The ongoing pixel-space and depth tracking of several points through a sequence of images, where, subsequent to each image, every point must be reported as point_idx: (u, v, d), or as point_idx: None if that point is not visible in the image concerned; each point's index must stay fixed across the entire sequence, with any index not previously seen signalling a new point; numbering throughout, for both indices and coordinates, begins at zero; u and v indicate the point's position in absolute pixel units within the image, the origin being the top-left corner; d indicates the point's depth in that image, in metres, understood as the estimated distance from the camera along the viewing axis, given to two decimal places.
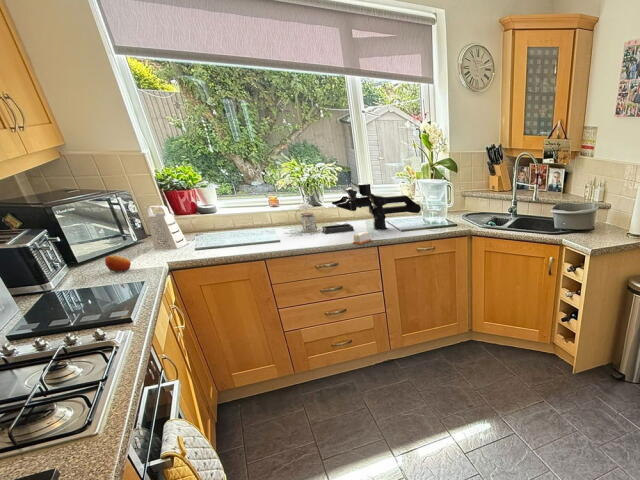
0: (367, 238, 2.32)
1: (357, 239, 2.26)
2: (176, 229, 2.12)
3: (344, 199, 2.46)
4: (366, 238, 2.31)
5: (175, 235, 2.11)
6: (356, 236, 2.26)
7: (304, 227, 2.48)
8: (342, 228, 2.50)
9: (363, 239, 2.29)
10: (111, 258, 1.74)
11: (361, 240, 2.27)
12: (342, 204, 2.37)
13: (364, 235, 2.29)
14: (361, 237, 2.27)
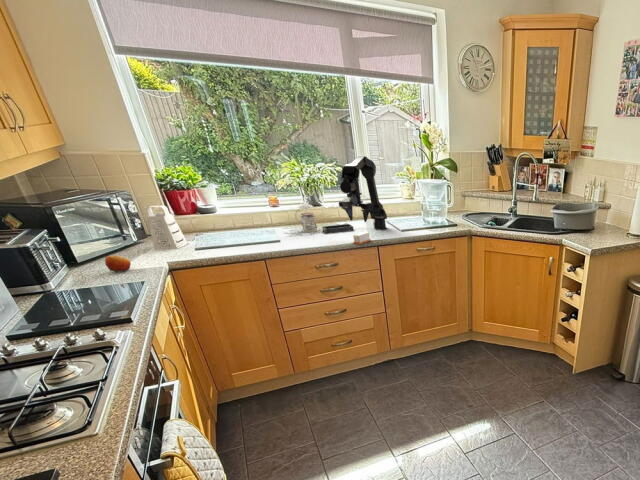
0: (367, 238, 2.32)
1: (357, 239, 2.26)
2: (176, 229, 2.12)
3: None
4: (366, 238, 2.31)
5: (175, 235, 2.11)
6: (356, 236, 2.26)
7: (304, 227, 2.48)
8: (342, 228, 2.50)
9: (363, 239, 2.29)
10: (111, 258, 1.74)
11: (361, 240, 2.27)
12: (365, 216, 2.22)
13: (364, 235, 2.29)
14: (361, 237, 2.27)
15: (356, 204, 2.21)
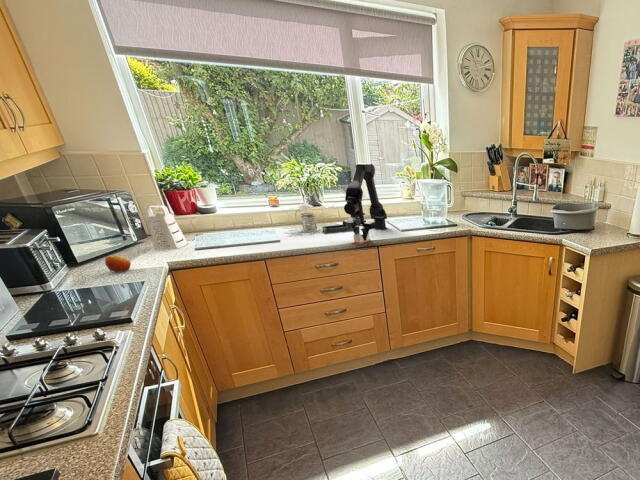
0: (367, 238, 2.32)
1: (357, 239, 2.26)
2: (176, 229, 2.12)
3: None
4: (366, 238, 2.31)
5: (175, 235, 2.11)
6: (356, 236, 2.26)
7: (304, 227, 2.48)
8: (342, 228, 2.50)
9: (363, 239, 2.29)
10: (111, 258, 1.74)
11: (361, 240, 2.27)
12: (365, 234, 2.28)
13: None
14: (361, 237, 2.27)
15: None
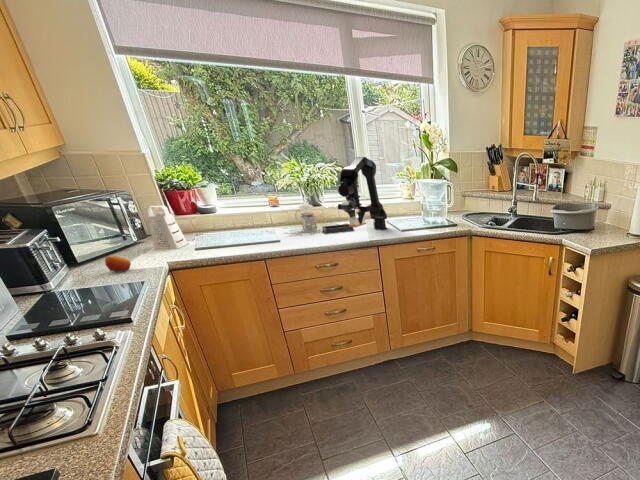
0: (363, 221, 2.30)
1: (353, 222, 2.24)
2: (176, 229, 2.12)
3: None
4: (362, 221, 2.29)
5: (175, 235, 2.11)
6: (352, 219, 2.23)
7: (304, 227, 2.48)
8: (342, 228, 2.50)
9: (359, 222, 2.27)
10: (111, 258, 1.74)
11: (357, 223, 2.25)
12: (360, 218, 2.25)
13: None
14: (357, 220, 2.25)
15: None
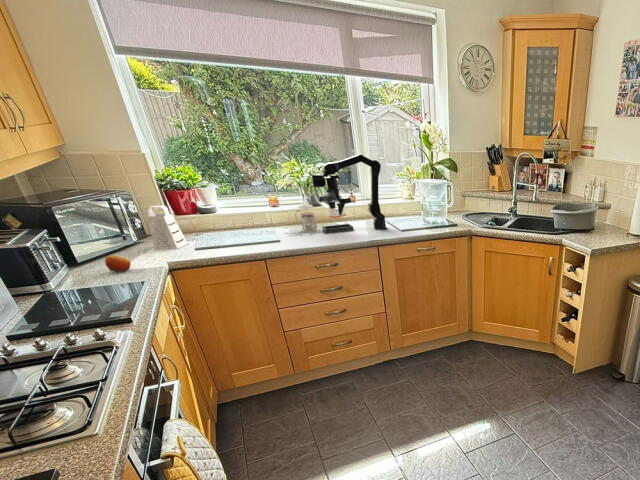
0: (343, 213, 2.47)
1: (333, 213, 2.41)
2: (176, 229, 2.12)
3: None
4: (342, 213, 2.46)
5: (175, 235, 2.11)
6: (332, 210, 2.41)
7: (304, 227, 2.48)
8: (342, 228, 2.50)
9: (339, 214, 2.44)
10: (111, 258, 1.74)
11: (337, 214, 2.43)
12: (340, 209, 2.43)
13: None
14: (337, 211, 2.42)
15: None
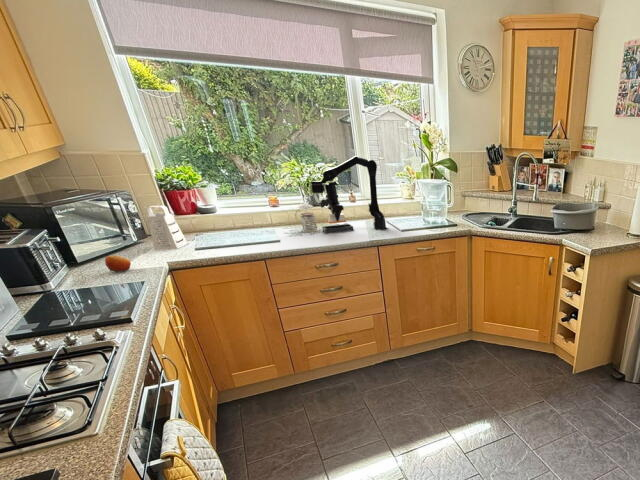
0: (341, 219, 2.50)
1: (329, 218, 2.47)
2: (176, 229, 2.12)
3: (330, 206, 2.48)
4: (340, 219, 2.49)
5: (175, 235, 2.11)
6: (328, 216, 2.47)
7: (304, 227, 2.48)
8: (342, 228, 2.50)
9: (335, 219, 2.48)
10: (111, 258, 1.74)
11: (332, 220, 2.47)
12: (336, 215, 2.46)
13: None
14: (332, 217, 2.46)
15: None
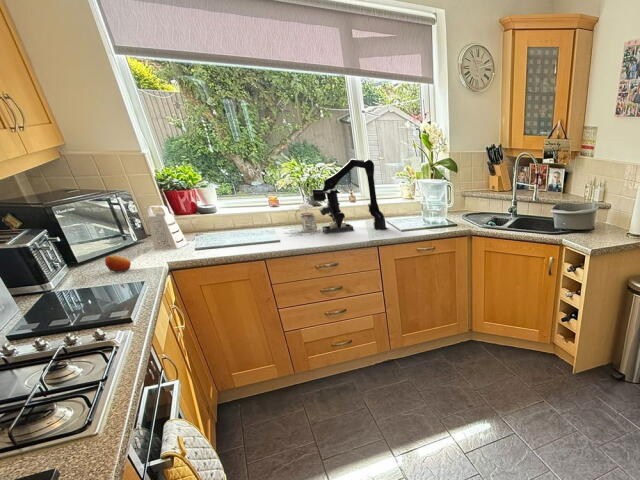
0: None
1: (330, 226, 2.49)
2: (176, 229, 2.12)
3: (331, 213, 2.51)
4: None
5: (175, 235, 2.11)
6: (330, 224, 2.49)
7: (304, 227, 2.48)
8: (342, 228, 2.50)
9: (336, 227, 2.50)
10: (111, 258, 1.74)
11: None
12: (337, 223, 2.48)
13: None
14: (334, 225, 2.49)
15: None
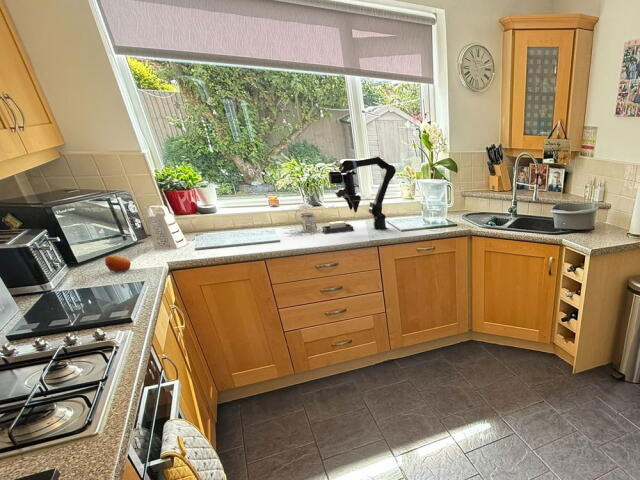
0: None
1: (330, 226, 2.49)
2: (176, 229, 2.12)
3: (346, 196, 2.46)
4: None
5: (175, 235, 2.11)
6: (330, 224, 2.49)
7: (304, 227, 2.48)
8: (342, 228, 2.50)
9: (336, 227, 2.50)
10: (111, 258, 1.74)
11: None
12: (354, 206, 2.41)
13: (338, 224, 2.50)
14: (334, 225, 2.49)
15: None
